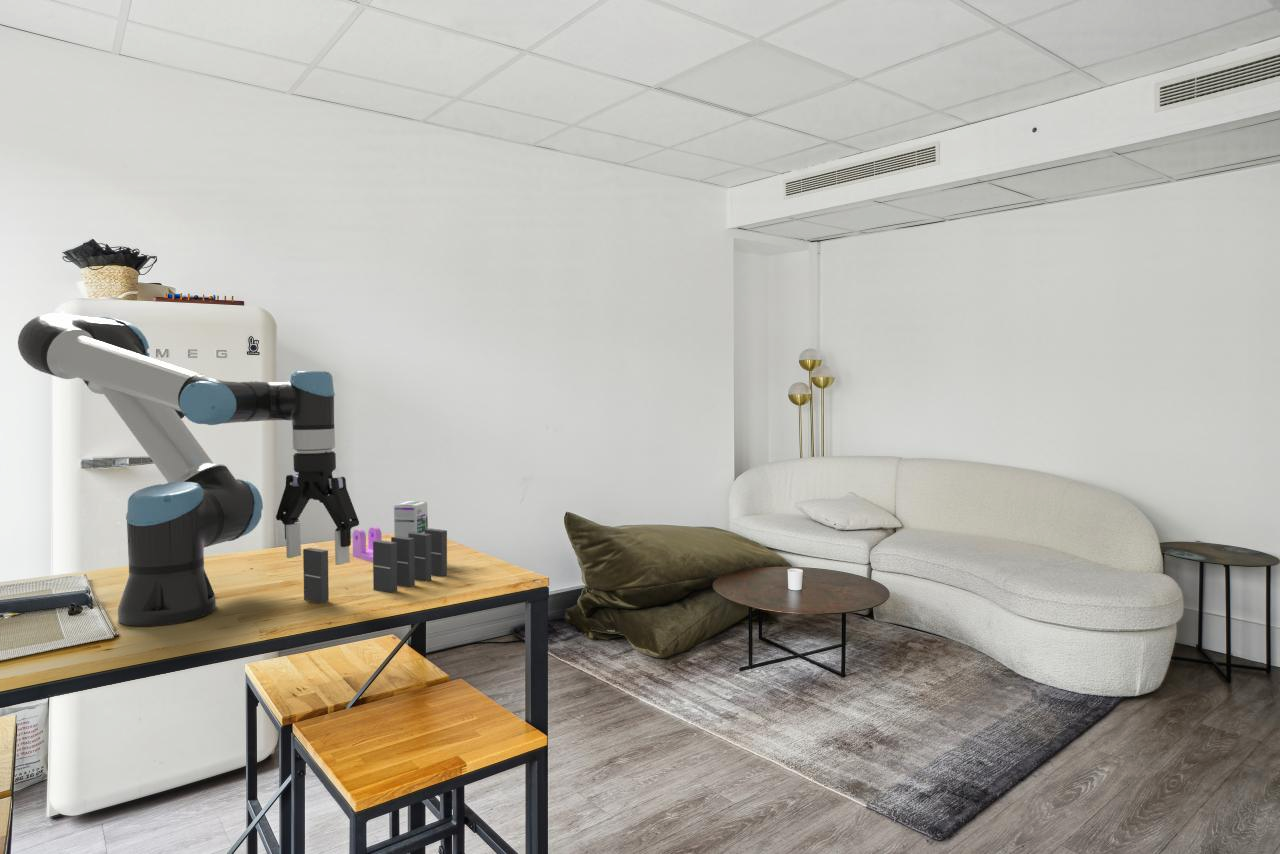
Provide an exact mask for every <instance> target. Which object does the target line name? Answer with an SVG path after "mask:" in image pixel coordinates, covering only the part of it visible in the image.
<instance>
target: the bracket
mask: <svg viewBox="0 0 1280 854" xmlns="http://www.w3.org/2000/svg"><path fill="white" fill-rule="evenodd" d="M367 535H368V538H367V537H366V532H365V530H364V529H363V528H359V529H354V530H353V532H352V557H353V558H356V559H361V560H363V561H366V562H370V561H371V563H373V541H377V540H382V531H381V529H380V527H379V526H373V527H372V526H371V527H370V528H369V529H368V533H367ZM367 539H368V543H367ZM367 544H368V546H367ZM367 547H368V548H367Z"/></svg>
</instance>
